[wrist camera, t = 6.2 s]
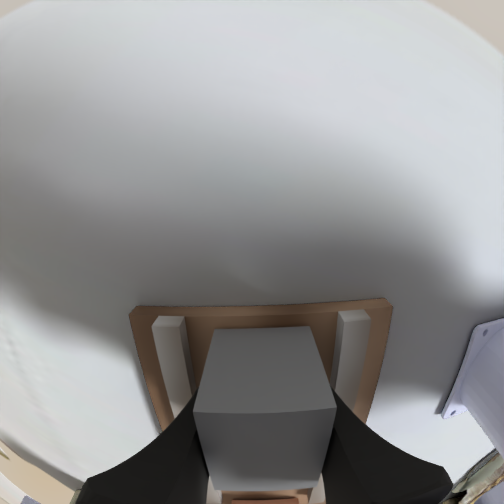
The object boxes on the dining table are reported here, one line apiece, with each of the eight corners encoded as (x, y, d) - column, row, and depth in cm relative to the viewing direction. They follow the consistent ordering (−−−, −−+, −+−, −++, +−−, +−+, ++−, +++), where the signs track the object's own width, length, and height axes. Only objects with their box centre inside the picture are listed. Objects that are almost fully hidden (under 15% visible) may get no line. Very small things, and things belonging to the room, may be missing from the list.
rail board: (384, 297, 13) (431, 346, 8) (330, 499, 18) (337, 536, 13) (136, 305, 13) (92, 356, 9) (199, 503, 18) (193, 541, 14)
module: (309, 325, 12) (337, 407, 7) (303, 408, 13) (316, 487, 8) (214, 328, 12) (192, 411, 7) (224, 410, 13) (214, 489, 8)
